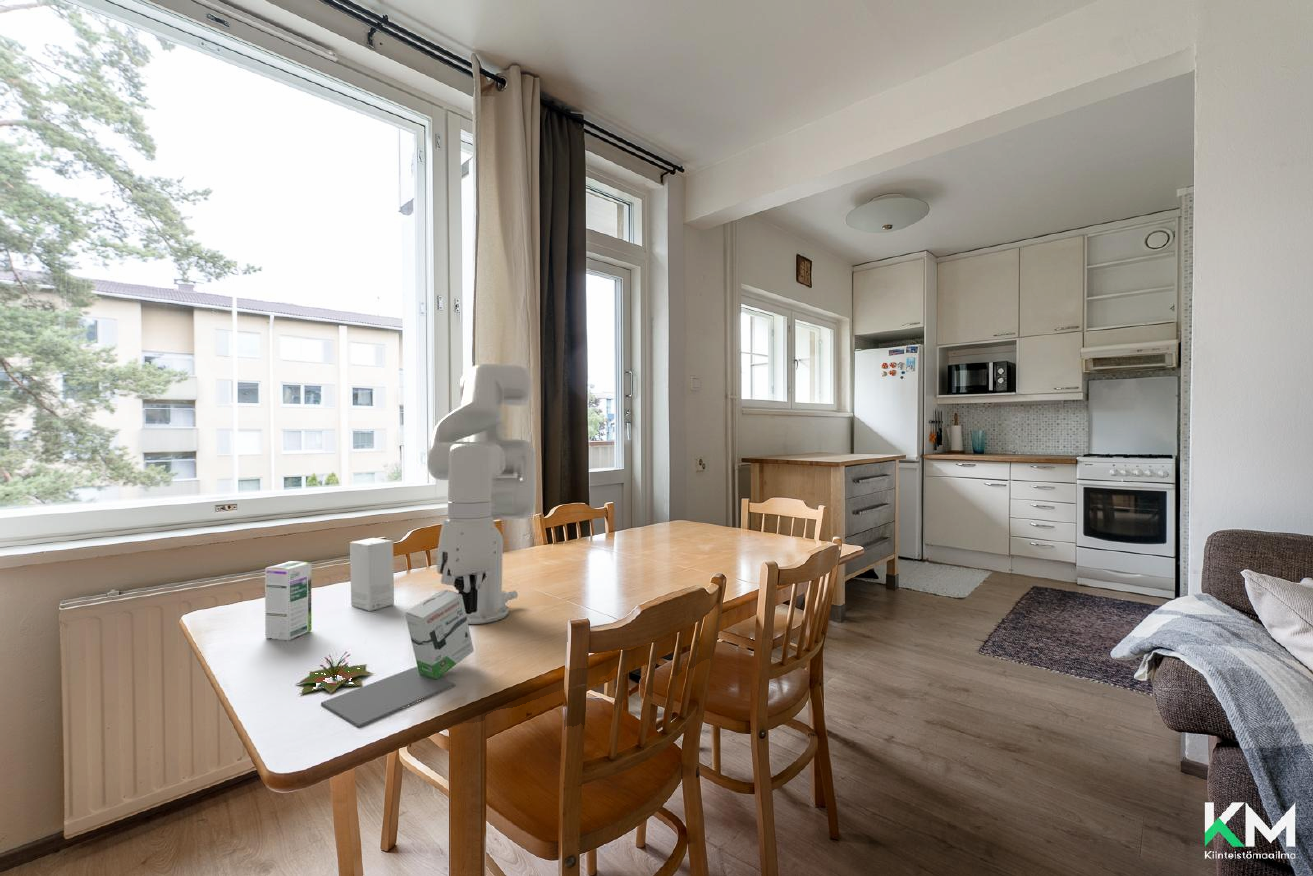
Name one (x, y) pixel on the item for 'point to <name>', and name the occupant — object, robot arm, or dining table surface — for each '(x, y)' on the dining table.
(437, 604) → the ink box
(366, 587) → the skincare box
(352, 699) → the mat
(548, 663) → the dining table surface
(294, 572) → the syrup box
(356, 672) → the lily flower
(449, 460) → the robot arm
